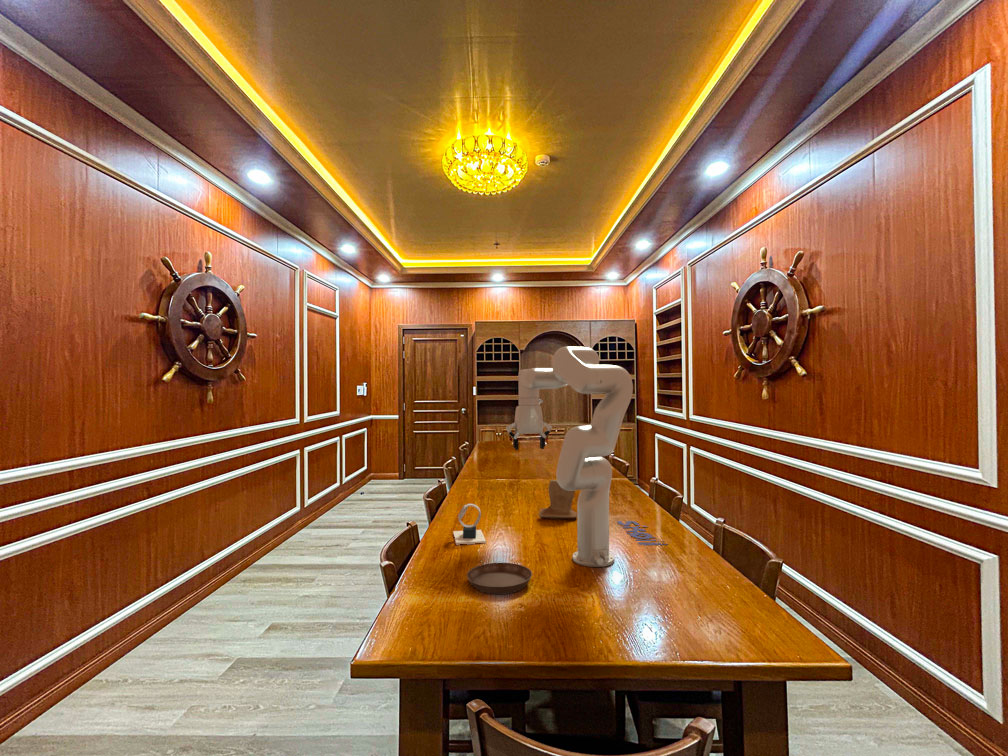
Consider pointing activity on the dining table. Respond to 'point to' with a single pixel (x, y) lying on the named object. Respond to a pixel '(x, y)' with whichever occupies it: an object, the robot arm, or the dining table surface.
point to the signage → (636, 534)
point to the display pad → (460, 540)
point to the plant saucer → (499, 577)
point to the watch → (468, 530)
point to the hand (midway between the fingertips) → (529, 449)
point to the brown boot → (558, 503)
